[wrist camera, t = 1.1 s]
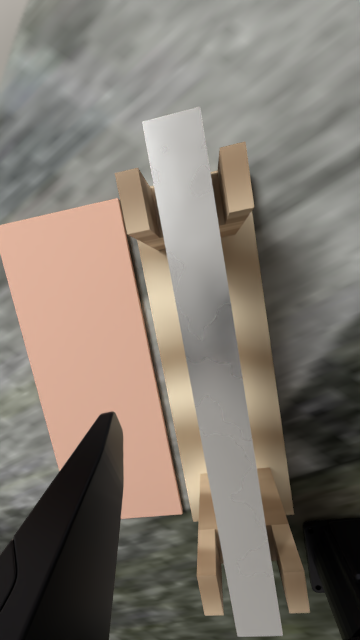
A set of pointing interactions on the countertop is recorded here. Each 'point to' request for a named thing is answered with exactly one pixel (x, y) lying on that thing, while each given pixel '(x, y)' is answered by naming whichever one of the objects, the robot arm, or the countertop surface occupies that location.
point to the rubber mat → (91, 343)
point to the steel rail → (213, 362)
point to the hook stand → (254, 360)
